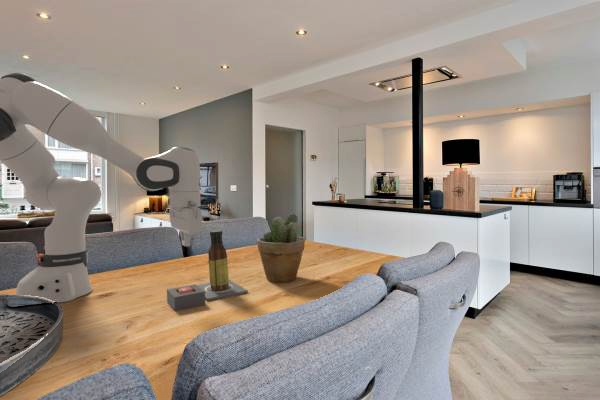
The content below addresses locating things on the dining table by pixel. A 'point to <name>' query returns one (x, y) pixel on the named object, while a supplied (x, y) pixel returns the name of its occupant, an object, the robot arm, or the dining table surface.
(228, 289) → the grey square plate
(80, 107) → the robot arm
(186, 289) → the button
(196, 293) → the button housing
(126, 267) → the dining table surface
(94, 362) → the dining table surface
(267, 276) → the potted plant
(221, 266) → the sauce bottle
